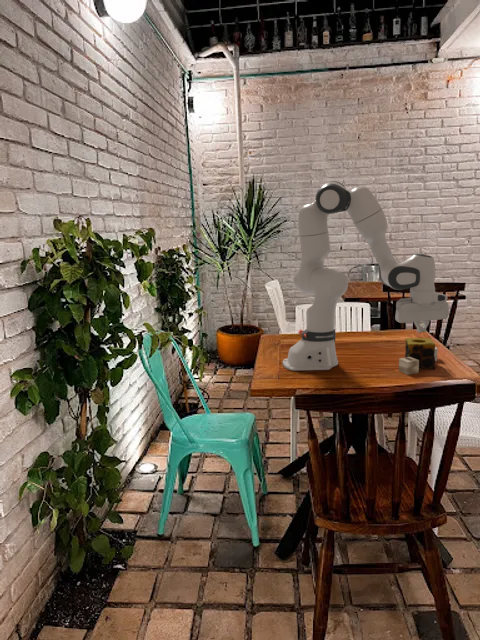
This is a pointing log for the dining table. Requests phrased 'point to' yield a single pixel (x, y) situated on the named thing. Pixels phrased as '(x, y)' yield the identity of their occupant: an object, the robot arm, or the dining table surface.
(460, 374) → the dining table surface
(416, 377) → the dining table surface
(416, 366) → the beech block marked
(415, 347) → the candle
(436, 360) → the cream block marked
